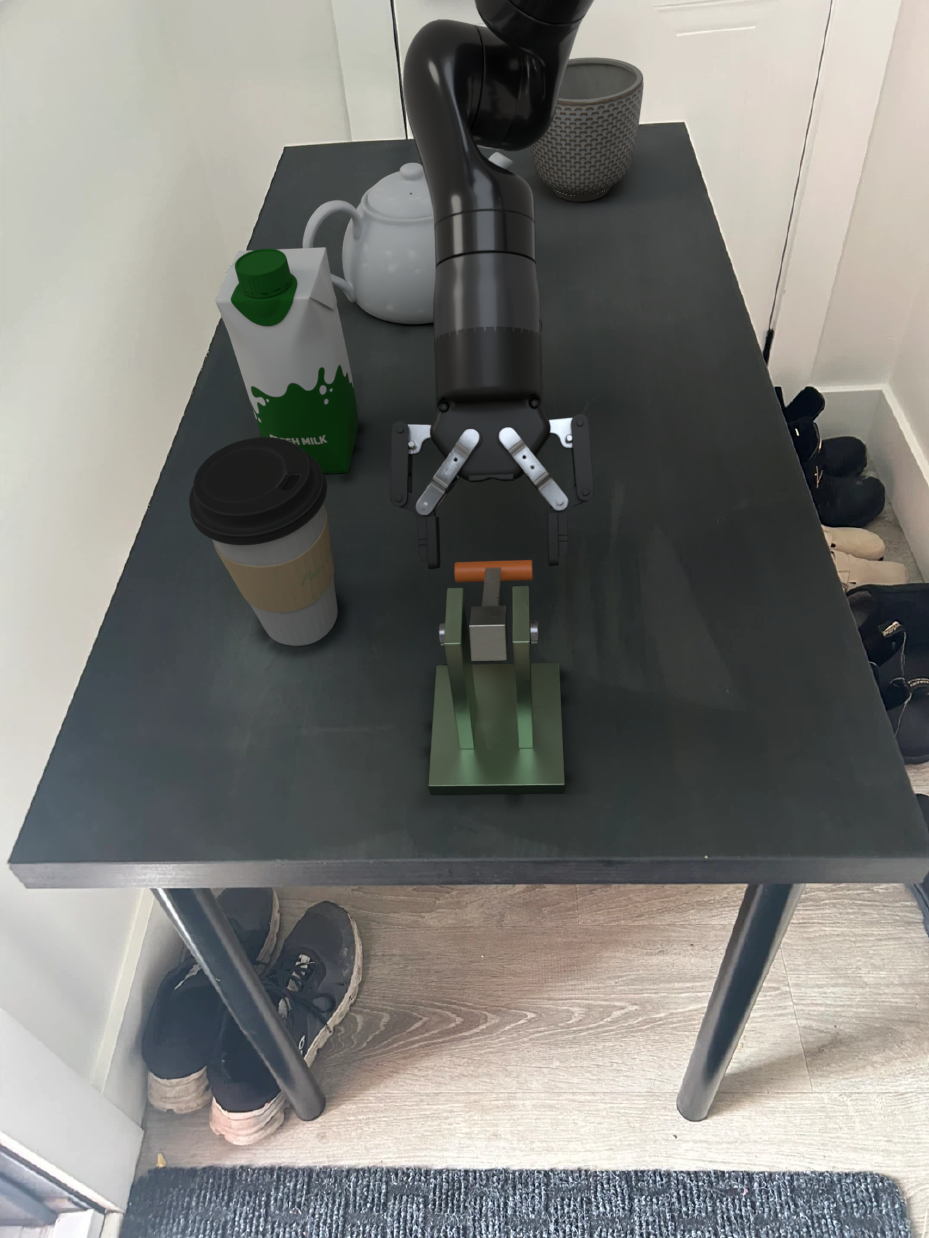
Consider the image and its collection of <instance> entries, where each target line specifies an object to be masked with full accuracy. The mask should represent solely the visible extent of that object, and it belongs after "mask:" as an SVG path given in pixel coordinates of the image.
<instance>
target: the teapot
mask: <svg viewBox="0 0 929 1238" xmlns="http://www.w3.org/2000/svg"><path fill="white" fill-rule="evenodd" d="M487 159H488V160H490V161H491V162H493V163H494V164H496V165H498V166H500V167H502V168H504V169H507V168H509V167H511V166H512V165H513V163H514V161H513V160H512V159H511V158H508V157H507V156H505V155H503V154H502V153H500V152H498V151H496V152H493V153H492V155H490V157H489V158H487ZM340 212H341V213H346V214H347V215H349V216H350V219H349V222H348V224H347V227H346V230H345V233H344V236H343V242H342V249H341V250H342V251H341V262H342V264H341V265H342V271H343V277H344V278H342V277H339V276H337V275H336V274H333V273H331V279H332V284H333V287H334V286H335V287H336V288H338V289H340V290H341V291H342V293H344V296H345V297H346V298H347V300H348V301H349V302H351V303H356V304H357V306H359V307H360V309H362V310H363V311H364V312H366V313H367V314H369V315H371V316H372V317H374V318H377V319H379V320H383V321H385V322H386V321H387V322H390V323H394V324H403V325H422V324H423V325H424V324H432V323H434V321H433V297H434V287H435V270H436V269H435V238H434V215H433V208H432V203H431V198H430V194H429V190H428V186H427V183H426V179H425V175H424V171H423V167H422V164H420V163H418V162H407V163H405V164H403V165H401V166H400V168H399V171H396V172H393V173H391V174H388V175H386V176H384V177H383V178H381V179H380V180H379V181H378V182H376V183H375V184H374V185H373V186H371V187H370V188H368V189H367V190H366V191H365V193H364V194H363V195H362V197H361V199H360V203H359V204H358V206H357V207H355V206H354V205H352V204H351V203H350V202H348V201H346V200H340V199H335V200H329V201H326V202H325V203H322V204H320V205H319V207H317V208H316V210H314V211H313V212H312V215H311V216H310V217H309V220H308V221H307V223H306V226H305V229H304V233H303V238H302V248H314V243H315V238H316V235H317V233H318V230H319V228H320V227H321V225H322V224H323V222H325V219H327V218H328V217H329V216H331V215H332V214H335V213H340Z"/></svg>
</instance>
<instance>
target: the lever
mask: <svg viewBox="0 0 929 1238" xmlns="http://www.w3.org/2000/svg"><path fill="white" fill-rule="evenodd" d="M533 573H534V572H533V560H532V559H515V560H514V559H513V560H484V561H483V560H481V561H456V562H454V581H455V583H477V582H478V583H480V582H481V583H483V590H482V598H481V599H482V600H481V606H471V607H470V614H469V621H468V634H469V642H470V656H471V661H472V662H481V661H482V662H487V661H488V662H489V661H507V660H508V650H509V649H508V648H509V647H508V646H509V634H508V607H507V606H506V605H501V595H502V582H517V581H518V582H519V581H521V582H522V581H533V579H534V576H533Z"/></svg>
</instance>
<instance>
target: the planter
mask: <svg viewBox="0 0 929 1238" xmlns="http://www.w3.org/2000/svg"><path fill="white" fill-rule="evenodd" d="M644 84H645V83H644V74H643V73H642V71H641V69H640V68H638V67H637V66H636V65H633V64H632V63H629V62H628V61H624V60H620V59H615V58H610V57H609V58H608V57H595V56H594V57H589V56H588V57H575V58H569V60H568V63H567V67H566V70H565V73H564V77H563V81H562V85H561V90H560V94H559V99H558V103H557V108H556V112H555V115H554V118H553V121H552V123H551V125H550V127H549V129H548V130H547V132H546V133H545V134H544V136H542V137H541V138H540V139H539V140H538V141H537V142H536V143H534V144H533V145H531V146H530V147H529V149H530V156H531V161H532V164H533V168H534V171H535V173H536V175H537V177H538V178H539V179H540V181H542V183H544V184H545V186H547V187H549V188H551V189H552V190H553V192H554V194H555V195H556V196H557V197H558V198H560V199H562V200H565V201H569V202H577V203H583V202H590V201H591V202H592V201H595V200H597V199H600V198H603V197H604V196H605V195H606V194H607V193H608V192H609V191H610V189H611V187H613V186H615V184H617V183H618V182H620V181H621V179H623V177H624V176H625V175H626V174H627V173H628V171H629V169H630V167H631V164H632V161H633V158H634V153H635V150H636V149H635V148H636V143H637V138H638V132H639V128H640V127H639V126H640V118H641V112H642V111H641V110H642V103H643V98H644V97H643V96H644V87H645V86H644ZM554 189H555V190H554ZM556 190H557V191H559V192H561V193H559V192H557V191H556ZM604 190H605V191H604ZM602 191H603V192H602ZM562 193H564V194H562ZM597 193H598V194H597ZM565 194H567V195H565ZM570 195H572V196H570ZM574 195H575V196H574Z"/></svg>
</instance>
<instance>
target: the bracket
mask: <svg viewBox="0 0 929 1238" xmlns="http://www.w3.org/2000/svg"><path fill="white" fill-rule="evenodd" d="M511 591H512V593H511V598H512V599H511V600H512V603H511V605H512V609H511V610H512V615H511V616H512V619H511V620H512V624H511V625H512V654H513V655H512V656H513V657H512V658H513V663H487V664H486V663H485V664H484V663H483V664H473V661H471V656H470V640H469V624H468V618H467V609H466V600H465V592H464V588H463V587H447V588H446V601H445V616H444V617H445V618H444V622H439V624H438V642H439V646H443V647H444V654H445V661H446V664H443V665H441V664H439V665H435V678H434V691H433V692H434V693H433V707H432V708H433V709H432V723H431V724H432V725H431V739H430V743H431V744H430V754H429V755H430V756H429V770H428V771H429V772H428V785H427V786H428V790H429V794H430V795H432V796H433V795H514V794H515V795H516V794H517V795H519V794H523V795H524V794H527V795H529V794H565V791H566V782H565V781H566V780H565V779H566V778H565V759H564V743H563V742H564V739H563V737H564V736H563V719H562V718H563V717H562V698H561V697H562V696H561V695H562V694H561V676H560V674H561V673H560V662H534V663H532V649H531V648H532V646H531V645H532V644H539V621H538V620H537V619H535V620H534V619H533V620H532V619H531V616H530V615H531V613H530V587H529V585H513V586H512V590H511ZM530 619H531V620H530Z"/></svg>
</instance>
